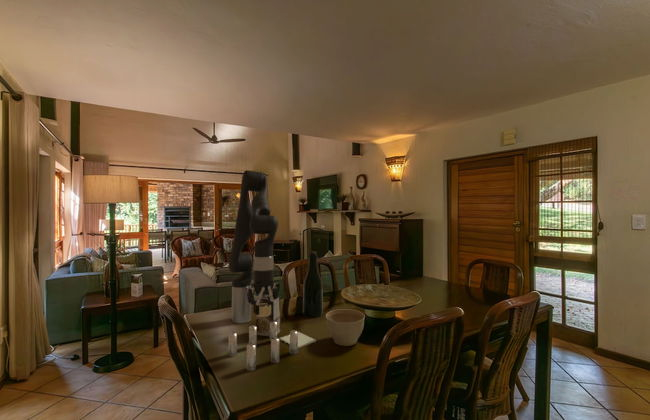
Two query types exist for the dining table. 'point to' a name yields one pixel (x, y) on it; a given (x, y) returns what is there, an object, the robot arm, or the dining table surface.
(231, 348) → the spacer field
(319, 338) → the dining table surface
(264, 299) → the coffee box
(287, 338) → the pad
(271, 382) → the dining table surface
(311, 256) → the beer bottle
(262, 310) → the brass nut
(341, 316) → the planter bowl
